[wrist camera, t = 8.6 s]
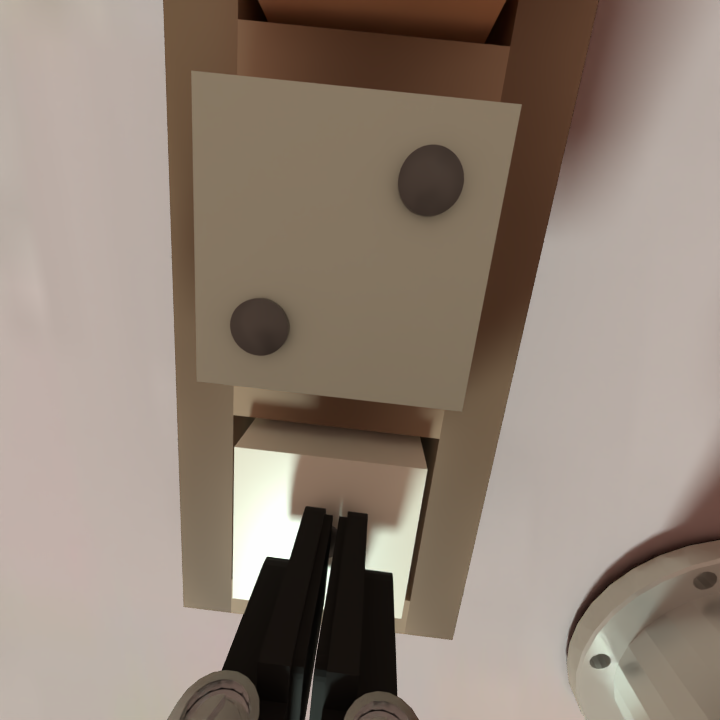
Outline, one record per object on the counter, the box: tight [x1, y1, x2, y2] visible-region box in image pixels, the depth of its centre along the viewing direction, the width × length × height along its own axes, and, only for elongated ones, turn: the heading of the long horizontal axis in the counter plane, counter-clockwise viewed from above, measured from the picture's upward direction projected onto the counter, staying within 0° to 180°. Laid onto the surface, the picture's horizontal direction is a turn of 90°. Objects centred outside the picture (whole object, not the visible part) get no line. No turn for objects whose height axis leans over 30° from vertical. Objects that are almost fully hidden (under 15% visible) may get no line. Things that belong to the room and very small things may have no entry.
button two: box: [191, 71, 522, 412], centre depth 9 cm, size 5×5×5 cm
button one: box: [232, 418, 428, 619], centre depth 13 cm, size 5×5×5 cm
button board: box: [163, 0, 599, 640], centre depth 11 cm, size 9×24×4 cm, turn 174°
